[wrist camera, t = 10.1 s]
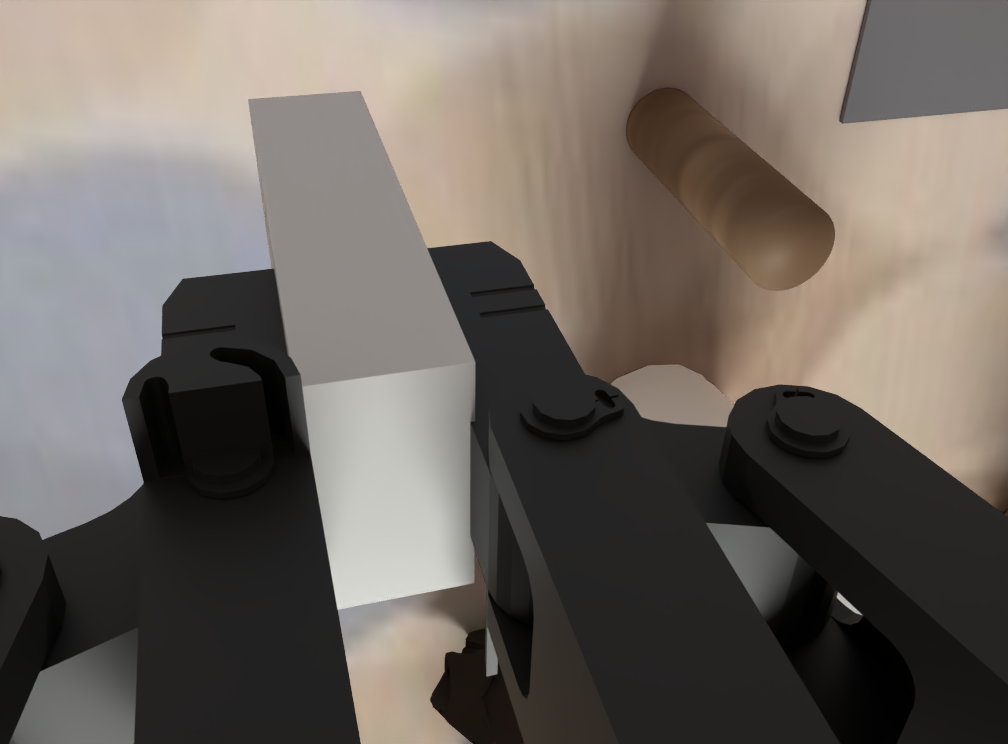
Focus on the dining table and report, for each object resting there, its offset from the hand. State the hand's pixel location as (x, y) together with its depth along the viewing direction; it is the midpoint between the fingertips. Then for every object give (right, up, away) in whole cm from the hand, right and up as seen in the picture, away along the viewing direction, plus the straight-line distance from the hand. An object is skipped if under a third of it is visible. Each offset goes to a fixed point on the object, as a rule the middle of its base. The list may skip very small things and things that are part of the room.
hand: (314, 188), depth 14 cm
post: (+8, +6, +20) cm, 22 cm away
